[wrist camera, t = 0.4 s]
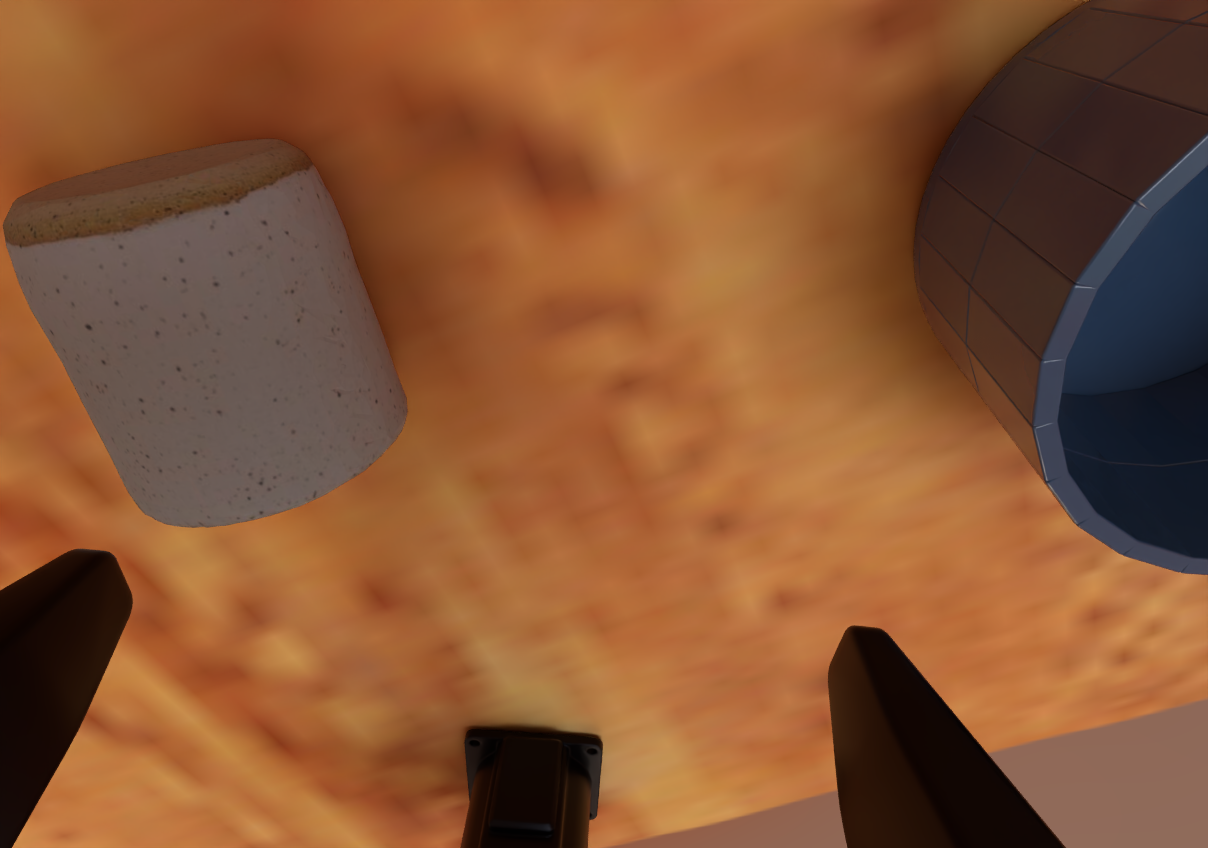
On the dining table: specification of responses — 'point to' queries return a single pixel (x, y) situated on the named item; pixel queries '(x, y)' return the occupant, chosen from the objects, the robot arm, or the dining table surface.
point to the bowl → (1088, 268)
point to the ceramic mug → (212, 328)
